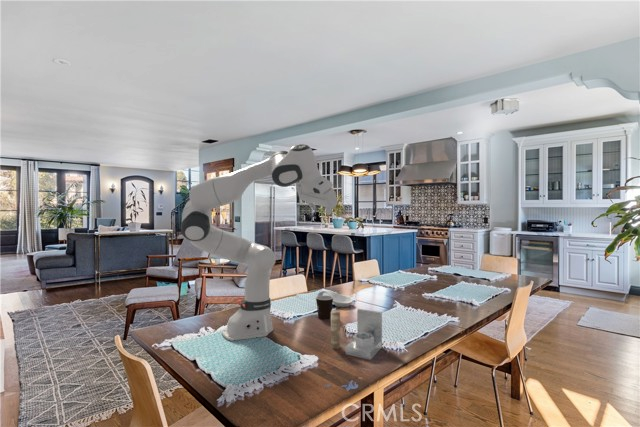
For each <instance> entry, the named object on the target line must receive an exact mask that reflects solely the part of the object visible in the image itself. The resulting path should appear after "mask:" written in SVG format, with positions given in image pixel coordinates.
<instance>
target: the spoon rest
mask: <svg viewBox="0 0 640 427" xmlns="http://www.w3.org/2000/svg"><path fill="white" fill-rule="evenodd" d="M324 294H327V296H332V297H333V303H332V305H335V307H337V308H347V307H349V306H351V305H352V304H353V302H354V300H353V299H352V298H351V297H349V296H346V295H343V294H340V293H339V292H336V291H333V290H330V289H325V290H321V291H319V293H317V296H322V295H324ZM317 296H316V297H317Z"/></svg>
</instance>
